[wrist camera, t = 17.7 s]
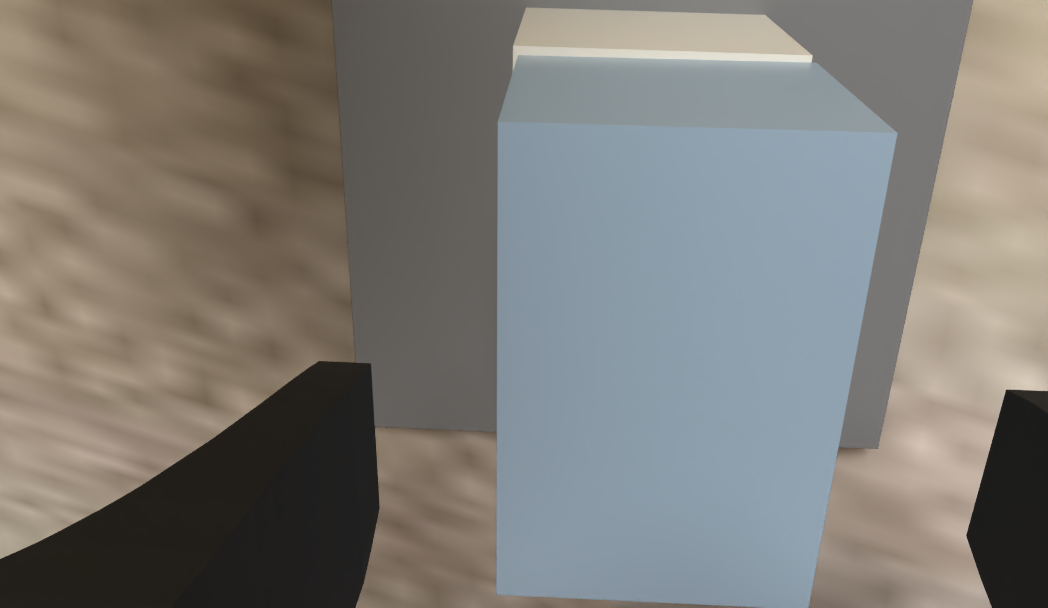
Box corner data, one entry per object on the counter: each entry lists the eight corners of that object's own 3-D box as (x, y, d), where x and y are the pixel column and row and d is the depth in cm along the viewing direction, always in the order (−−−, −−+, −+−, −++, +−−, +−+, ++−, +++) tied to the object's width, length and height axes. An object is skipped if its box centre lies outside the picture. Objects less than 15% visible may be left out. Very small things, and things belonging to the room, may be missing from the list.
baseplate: (865, 425, 23) (877, 448, 22) (367, 403, 23) (359, 425, 22) (978, -126, 18) (999, -125, 17) (335, -139, 18) (322, -139, 17)
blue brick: (760, 451, 17) (808, 609, 14) (513, 441, 17) (496, 594, 14) (816, 62, 14) (897, 133, 11) (518, 55, 14) (497, 121, 11)
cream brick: (722, 344, 21) (753, 446, 17) (518, 335, 21) (506, 434, 17) (765, 14, 18) (812, 55, 14) (526, 7, 18) (513, 45, 14)
